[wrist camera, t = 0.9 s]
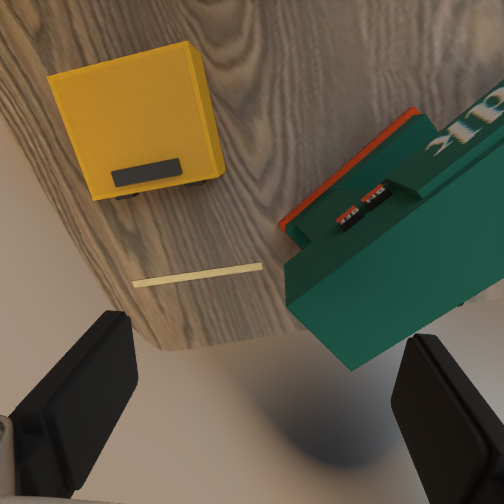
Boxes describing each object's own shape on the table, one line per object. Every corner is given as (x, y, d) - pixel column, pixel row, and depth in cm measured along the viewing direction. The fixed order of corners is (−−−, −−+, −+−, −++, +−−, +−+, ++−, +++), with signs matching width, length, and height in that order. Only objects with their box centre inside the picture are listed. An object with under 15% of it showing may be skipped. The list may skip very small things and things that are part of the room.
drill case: (78, 83, 34) (38, 74, 28) (200, 53, 32) (184, 37, 26) (117, 196, 38) (89, 207, 32) (227, 175, 36) (218, 183, 31)
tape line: (132, 281, 42) (132, 281, 42) (261, 262, 40) (261, 262, 40) (134, 287, 43) (134, 287, 43) (262, 269, 40) (262, 269, 40)
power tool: (538, -13, 28) (1059, -296, 9) (574, 52, 29) (1083, -80, 11) (275, 219, 38) (273, 306, 19) (312, 259, 39) (344, 375, 21)
